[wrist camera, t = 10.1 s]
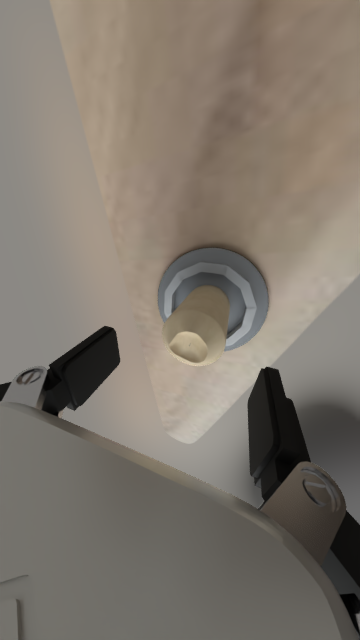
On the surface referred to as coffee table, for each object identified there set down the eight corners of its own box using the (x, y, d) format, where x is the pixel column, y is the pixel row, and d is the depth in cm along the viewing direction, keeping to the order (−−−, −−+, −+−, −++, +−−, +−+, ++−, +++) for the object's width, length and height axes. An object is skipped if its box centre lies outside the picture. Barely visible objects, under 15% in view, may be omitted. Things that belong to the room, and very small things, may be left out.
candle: (185, 319, 23) (154, 366, 15) (189, 280, 21) (155, 310, 12) (224, 328, 22) (216, 385, 14) (234, 288, 20) (232, 326, 11)
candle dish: (160, 242, 21) (154, 242, 19) (286, 254, 17) (290, 256, 16) (158, 337, 27) (153, 343, 25) (249, 360, 24) (250, 368, 22)
